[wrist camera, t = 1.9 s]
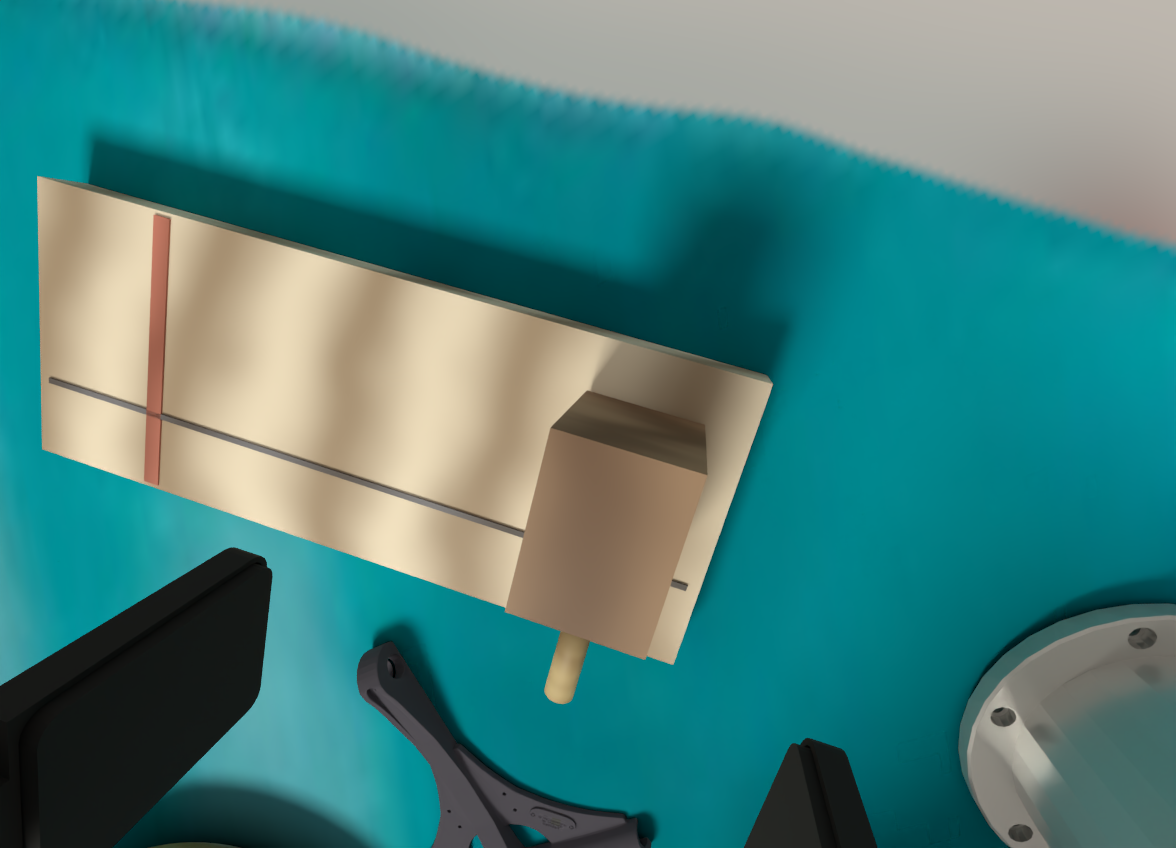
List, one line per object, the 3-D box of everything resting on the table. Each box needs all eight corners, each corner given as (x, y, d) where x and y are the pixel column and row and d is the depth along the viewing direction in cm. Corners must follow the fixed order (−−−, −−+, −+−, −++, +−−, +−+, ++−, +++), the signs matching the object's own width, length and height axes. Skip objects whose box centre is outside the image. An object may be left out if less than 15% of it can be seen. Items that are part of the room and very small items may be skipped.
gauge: (705, 425, 21) (707, 475, 15) (633, 642, 23) (615, 749, 18) (586, 390, 21) (550, 427, 16) (530, 607, 24) (482, 700, 18)
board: (766, 374, 22) (773, 384, 20) (675, 635, 25) (673, 666, 23) (87, 183, 25) (35, 175, 23) (85, 437, 29) (40, 449, 27)
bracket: (505, 583, 27) (483, 617, 24) (652, 832, 29) (647, 888, 26) (285, 678, 31) (246, 715, 29) (427, 890, 33) (403, 944, 30)
